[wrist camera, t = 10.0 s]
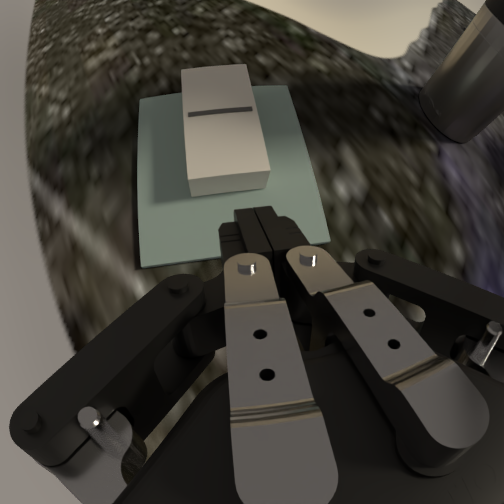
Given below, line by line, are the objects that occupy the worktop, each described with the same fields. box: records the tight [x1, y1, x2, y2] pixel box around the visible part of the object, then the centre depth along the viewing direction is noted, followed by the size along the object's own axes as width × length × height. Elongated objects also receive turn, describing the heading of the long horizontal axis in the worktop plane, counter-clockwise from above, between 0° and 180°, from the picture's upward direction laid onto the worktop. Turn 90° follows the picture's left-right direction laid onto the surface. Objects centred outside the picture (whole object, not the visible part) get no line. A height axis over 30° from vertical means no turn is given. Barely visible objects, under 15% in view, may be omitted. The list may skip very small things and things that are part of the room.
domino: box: [181, 64, 271, 197], centre depth 24 cm, size 6×3×12 cm
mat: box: [137, 85, 330, 268], centre depth 26 cm, size 15×17×1 cm
